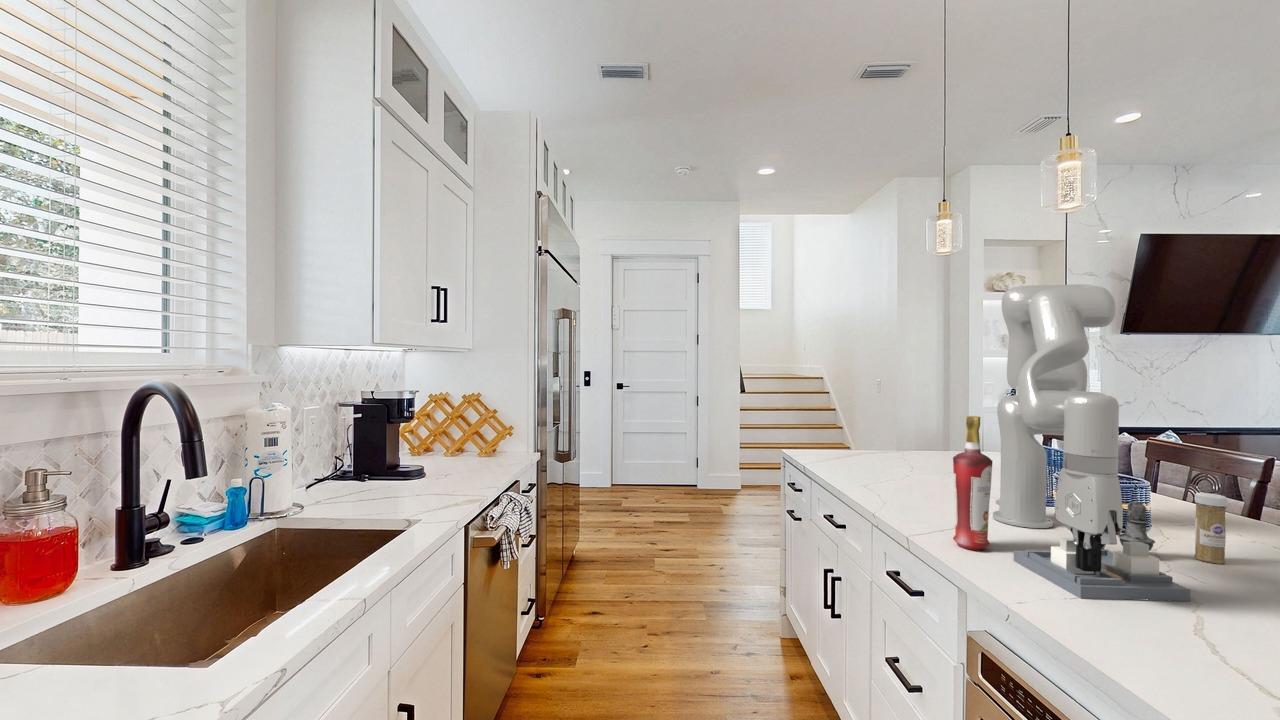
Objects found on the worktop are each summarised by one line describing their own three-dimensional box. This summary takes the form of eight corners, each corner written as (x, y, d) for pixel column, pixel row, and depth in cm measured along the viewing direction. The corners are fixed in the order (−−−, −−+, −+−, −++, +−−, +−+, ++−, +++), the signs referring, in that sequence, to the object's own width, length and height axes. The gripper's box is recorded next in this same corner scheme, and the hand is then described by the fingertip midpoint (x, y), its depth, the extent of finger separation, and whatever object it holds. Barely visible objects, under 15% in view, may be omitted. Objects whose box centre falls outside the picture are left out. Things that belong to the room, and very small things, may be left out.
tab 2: (1112, 569, 103) (1113, 539, 103) (1139, 570, 103) (1140, 540, 103) (1131, 578, 99) (1131, 546, 99) (1159, 578, 99) (1159, 547, 99)
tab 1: (1050, 565, 105) (1051, 535, 105) (1077, 565, 105) (1077, 536, 105) (1066, 573, 101) (1066, 542, 101) (1093, 573, 101) (1094, 543, 101)
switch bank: (1013, 560, 114) (1013, 545, 114) (1105, 562, 113) (1105, 547, 113) (1080, 598, 96) (1080, 580, 96) (1190, 601, 95) (1190, 583, 95)
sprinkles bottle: (1210, 564, 113) (1211, 497, 113) (1187, 556, 118) (1188, 491, 118) (1232, 564, 113) (1233, 497, 113) (1208, 556, 118) (1209, 492, 118)
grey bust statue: (1162, 561, 114) (1163, 502, 114) (1128, 559, 115) (1129, 500, 115) (1142, 552, 120) (1143, 495, 120) (1110, 549, 121) (1111, 493, 121)
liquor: (965, 539, 127) (967, 414, 127) (998, 549, 120) (1000, 417, 120) (944, 544, 123) (946, 415, 123) (977, 554, 117) (979, 418, 117)
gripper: (1039, 457, 107) (1037, 554, 107) (1101, 473, 92) (1099, 586, 92) (1079, 458, 107) (1078, 555, 107) (1149, 474, 92) (1147, 587, 92)
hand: (1088, 569), depth 99 cm, fingers closed
